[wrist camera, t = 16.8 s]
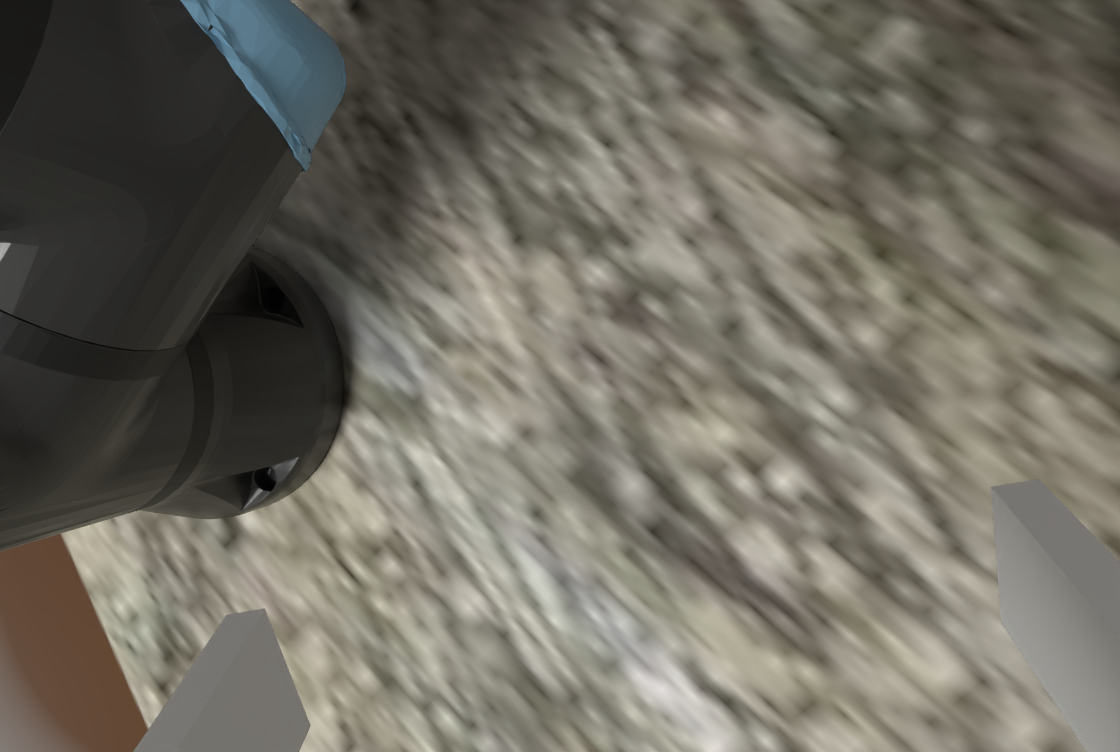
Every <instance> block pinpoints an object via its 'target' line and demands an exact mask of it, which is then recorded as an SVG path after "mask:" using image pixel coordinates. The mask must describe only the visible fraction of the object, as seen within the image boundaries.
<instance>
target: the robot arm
mask: <svg viewBox="0 0 1120 752" xmlns="http://www.w3.org/2000/svg"><path fill="white" fill-rule="evenodd" d="M345 87H346V73H345V63H344V60H343V57H342V55H341V53H340V50H339V48H338V47H337V45H336V43H335V42H334V41H333V39H332V38H331V37H330V36H329V35H328V34H327V33H326V32H325V31H324V30H323V29H321V28H320V27H319V26H318V25H317V24H316V23H315V22H314V21H313V20H312V19H310V18H309V17H308V16H307V15H306V14H305V13H304V12H303V11H301V10H300V9H299V8H298V7H297V6H296V5H295V4H294V3H292V2H291V1H290V0H0V551H2V550H6V549H9V548H12V547H15V546H19V545H22V544H26V543H29V542H33V541H36V540H39V539H43V538H46V537H49V536H53V535H57V534H60V533H63V532H67V531H70V530H74V529H77V528H80V527H84V526H87V525H91V524H94V523H97V522H101V521H104V520H108V519H111V518H114V517H118V516H121V515H124V514H127V513H131V512H134V511H138V510H141V511H148V512H155V513H162V514H168V515H175V516H182V517H189V518H198V519H219V518H227V517H233V516H237V515H241V514H244V513H247V512H250V511H253V510H256V509H259V508H262V507H265V506H268V505H270V504H272V503H275V502H277V501H279V500H281V499H283V498H284V497H286V496H287V495H289V494H290V493H292V492H293V491H295V490H296V489H297V488H298V487H300V486H301V485H302V484H303V483H304V482H305V481H306V480H307V479H308V478H309V477H310V476H311V475H312V473H313V472H314V471H315V470H316V468H317V467H318V466H319V464H320V463H321V461H322V460H323V458H324V456H325V455H326V453H327V451H328V449H329V447H330V445H331V443H332V440H333V438H334V435H335V432H336V429H337V426H338V423H339V419H340V414H341V409H342V402H343V389H344V378H343V365H342V358H341V353H340V348H339V344H338V340H337V337H336V334H335V331H334V328H333V326H332V323H331V321H330V319H329V317H328V314H327V312H326V310H325V309H324V307H323V305H322V303H321V302H320V300H319V299H318V297H317V296H316V294H315V293H314V292H313V290H312V289H311V288H310V287H309V285H308V284H307V283H306V282H305V281H304V280H303V279H302V278H301V277H300V276H299V275H298V274H297V273H296V272H295V271H294V270H293V269H291V268H290V267H289V266H288V265H286V264H285V263H283V262H282V261H281V260H279V259H277V258H276V257H274V256H272V255H270V254H268V253H266V252H264V251H262V250H259V249H256V248H254V247H252V246H253V244H254V243H255V241H256V239H257V238H258V236H259V235H260V233H261V232H262V230H263V229H264V227H265V226H266V224H267V223H268V221H269V219H270V218H271V216H272V215H273V213H274V212H275V210H276V209H277V207H278V206H279V204H280V203H281V201H282V199H283V198H284V196H285V195H286V193H287V192H288V190H289V189H290V187H291V186H292V184H293V182H294V181H295V179H296V178H297V176H298V175H299V173H300V172H301V171H307V169H308V168H309V167H310V163H311V160H312V155H311V152H312V150H313V148H314V146H315V145H316V143H317V141H318V139H319V138H320V136H321V134H322V133H323V131H324V129H325V127H326V126H327V124H328V122H329V120H330V119H331V117H332V115H333V113H334V112H335V110H336V108H337V106H338V105H339V103H340V101H341V99H342V97H343V94H344V91H345ZM991 493H992V506H993V520H994V533H995V546H996V559H997V572H998V585H999V598H1000V612H1001V623H1002V625H1003V626H1004V628H1005V629H1006V631H1007V632H1008V634H1009V635H1010V637H1011V638H1012V640H1013V641H1014V643H1015V644H1016V646H1017V647H1018V649H1019V650H1020V652H1021V653H1022V655H1023V656H1024V658H1025V659H1026V661H1027V662H1028V664H1029V665H1030V667H1031V668H1032V670H1033V671H1034V673H1035V674H1036V676H1037V677H1038V679H1039V680H1040V682H1041V683H1042V685H1043V686H1044V688H1045V689H1046V691H1047V692H1048V694H1049V695H1050V697H1051V698H1052V700H1053V701H1054V703H1055V704H1056V706H1057V707H1058V709H1059V710H1060V712H1061V713H1062V715H1063V716H1064V718H1065V719H1066V721H1067V722H1068V724H1069V725H1070V727H1071V728H1072V730H1073V731H1074V733H1075V734H1076V736H1077V737H1078V739H1079V740H1080V742H1081V743H1082V745H1083V746H1084V748H1085V749H1086V751H1087V752H1120V562H1119V561H1118V560H1117V559H1116V558H1115V557H1114V556H1113V555H1112V554H1111V553H1110V552H1109V551H1108V550H1107V549H1106V548H1105V547H1104V546H1103V545H1102V544H1101V543H1100V542H1099V541H1098V540H1097V539H1096V538H1095V537H1094V535H1093V534H1092V533H1091V532H1090V531H1089V530H1088V529H1087V528H1086V527H1085V526H1084V525H1083V524H1082V523H1081V522H1080V521H1079V520H1078V519H1077V518H1076V517H1075V516H1074V515H1073V514H1072V513H1071V512H1070V511H1069V510H1068V509H1067V508H1066V507H1065V506H1064V505H1063V504H1062V503H1061V502H1060V501H1059V500H1058V499H1057V498H1056V497H1055V496H1054V495H1053V493H1052V492H1051V491H1050V490H1049V489H1048V488H1047V487H1046V486H1045V485H1044V484H1043V483H1042V482H1041V481H1040V480H1039V479H1036V480H1030V481H1024V482H1018V483H1012V484H1006V485H1000V486H994V487H991ZM309 728H310V723H309V720H308V718H307V715H306V713H305V710H304V708H303V705H302V703H301V700H300V697H299V695H298V692H297V690H296V687H295V685H294V682H293V680H292V677H291V675H290V672H289V669H288V667H287V664H286V662H285V659H284V657H283V654H282V652H281V649H280V646H279V644H278V641H277V639H276V636H275V634H274V631H273V629H272V626H271V624H270V621H269V618H268V616H267V613H266V611H265V609H260V610H254V611H248V612H242V613H236V614H230V615H226V617H225V618H224V620H223V621H222V623H221V624H220V626H219V627H218V629H217V630H216V632H215V633H214V634H213V636H212V637H211V639H210V640H209V642H208V643H207V645H206V646H205V648H204V649H203V651H202V652H201V653H200V655H199V656H198V658H197V659H196V661H195V662H194V664H193V665H192V667H191V668H190V670H189V671H188V673H187V674H186V675H185V677H184V678H183V680H182V681H181V683H180V684H179V686H178V687H177V689H176V690H175V692H174V693H173V694H172V696H171V697H170V699H169V700H168V702H167V703H166V705H165V706H164V708H163V709H162V711H161V712H160V714H159V715H158V716H157V718H156V719H155V721H154V722H153V724H152V725H151V727H150V728H149V730H148V731H147V733H146V734H145V736H144V737H143V739H142V740H141V741H140V743H139V744H138V746H137V747H136V749H135V750H134V752H299V750H300V748H301V746H302V744H303V741H304V739H305V737H306V735H307V733H308V730H309Z"/></svg>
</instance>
